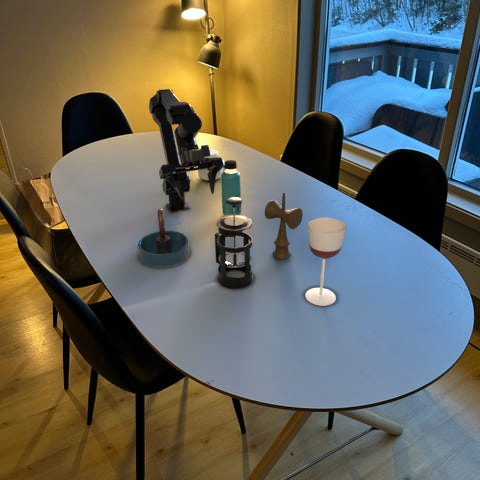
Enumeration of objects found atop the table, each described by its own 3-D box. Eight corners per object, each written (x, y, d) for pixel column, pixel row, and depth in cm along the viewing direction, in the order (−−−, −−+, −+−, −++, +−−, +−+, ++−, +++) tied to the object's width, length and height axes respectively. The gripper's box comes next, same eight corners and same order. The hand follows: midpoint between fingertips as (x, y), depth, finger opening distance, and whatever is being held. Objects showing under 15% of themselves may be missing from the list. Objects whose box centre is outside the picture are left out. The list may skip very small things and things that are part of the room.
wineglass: (300, 288, 115) (304, 218, 105) (333, 286, 115) (340, 216, 106) (306, 307, 107) (312, 234, 98) (342, 305, 108) (350, 232, 99)
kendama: (288, 266, 124) (291, 200, 115) (262, 254, 130) (263, 191, 121) (301, 258, 128) (305, 194, 118) (275, 247, 133) (277, 184, 124)
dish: (131, 252, 131) (129, 239, 130) (174, 238, 139) (173, 226, 137) (152, 273, 121) (151, 260, 119) (198, 257, 128) (197, 244, 127)
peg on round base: (155, 251, 131) (151, 207, 124) (168, 248, 132) (164, 205, 126) (159, 257, 127) (155, 213, 121) (173, 254, 129) (169, 210, 122)
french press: (262, 279, 118) (263, 199, 108) (238, 294, 112) (237, 212, 102) (230, 263, 125) (228, 187, 115) (205, 277, 119) (201, 198, 109)
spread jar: (196, 182, 181) (195, 154, 176) (203, 172, 191) (202, 146, 186) (225, 183, 179) (224, 156, 174) (230, 174, 189) (230, 147, 184)
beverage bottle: (239, 222, 149) (238, 165, 139) (219, 220, 150) (218, 163, 141) (243, 213, 154) (242, 158, 145) (224, 212, 155) (222, 157, 146)
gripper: (159, 139, 121) (171, 194, 119) (223, 132, 127) (235, 184, 125) (154, 152, 131) (164, 203, 130) (214, 144, 137) (225, 193, 136)
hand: (197, 196), depth 130 cm, fingers open, 9 cm apart
